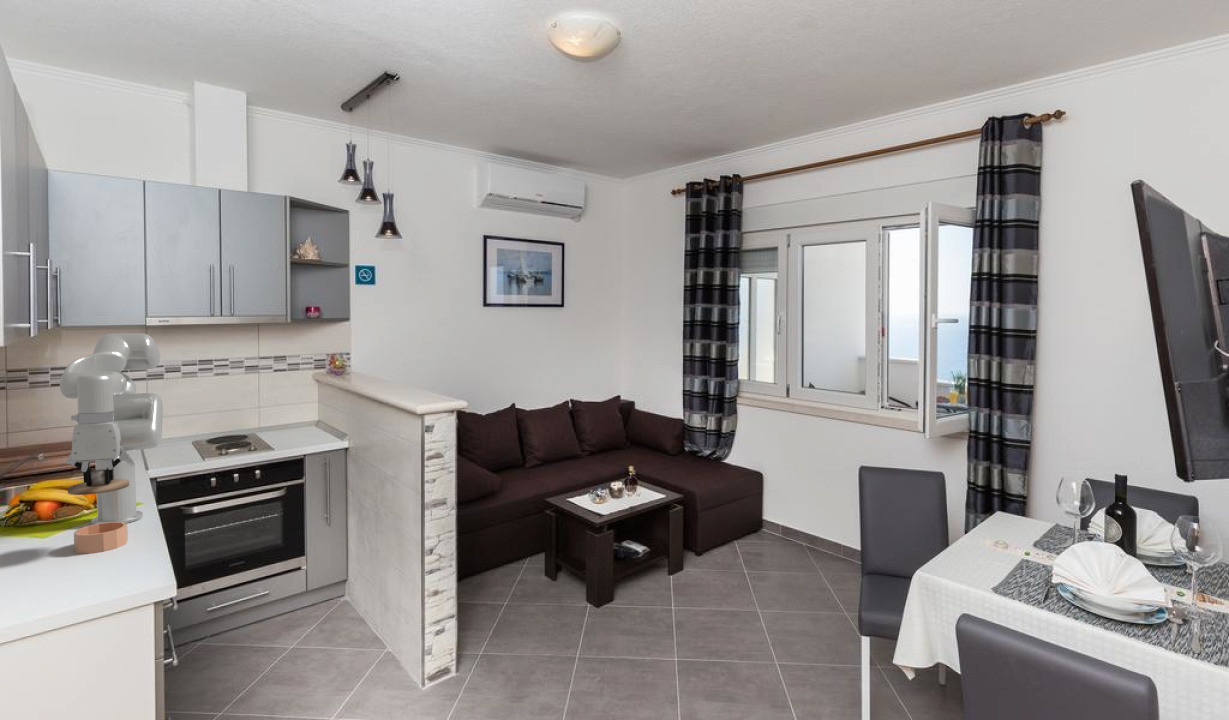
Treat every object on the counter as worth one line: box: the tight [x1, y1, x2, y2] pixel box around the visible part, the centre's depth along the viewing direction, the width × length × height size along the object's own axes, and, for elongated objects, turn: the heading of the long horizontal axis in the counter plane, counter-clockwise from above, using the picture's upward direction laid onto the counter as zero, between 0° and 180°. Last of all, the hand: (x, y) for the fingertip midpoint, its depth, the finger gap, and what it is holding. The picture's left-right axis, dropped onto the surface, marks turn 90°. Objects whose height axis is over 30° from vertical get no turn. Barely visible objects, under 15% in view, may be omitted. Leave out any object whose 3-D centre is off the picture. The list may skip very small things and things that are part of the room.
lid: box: [67, 469, 129, 496], centre depth 167 cm, size 13×13×5 cm
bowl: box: [73, 522, 129, 554], centre depth 169 cm, size 11×11×5 cm
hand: (99, 483), depth 167 cm, fingers closed on lid, 3 cm apart
